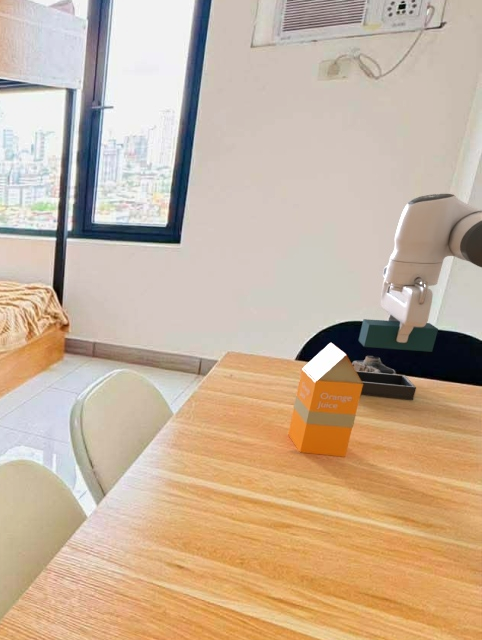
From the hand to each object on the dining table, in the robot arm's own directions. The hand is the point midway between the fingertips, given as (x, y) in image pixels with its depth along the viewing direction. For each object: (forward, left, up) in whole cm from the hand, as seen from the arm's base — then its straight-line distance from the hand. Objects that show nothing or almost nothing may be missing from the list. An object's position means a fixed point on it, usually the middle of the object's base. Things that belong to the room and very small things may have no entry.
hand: (396, 337), depth 137 cm
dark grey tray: (0, -12, -16) cm, 20 cm away
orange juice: (+16, +30, -16) cm, 38 cm away
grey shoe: (-4, -27, -16) cm, 32 cm away
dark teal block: (0, 0, -2) cm, 2 cm away
